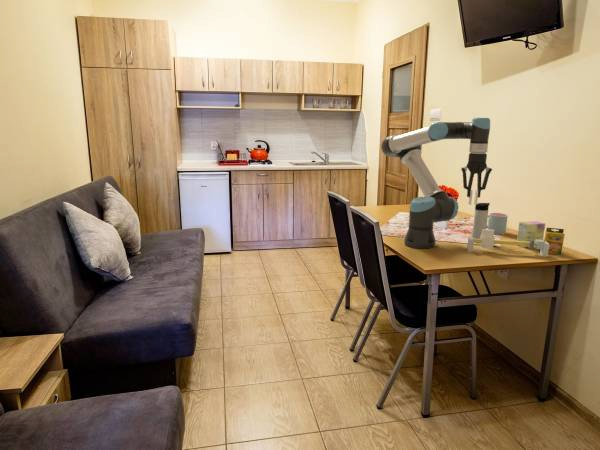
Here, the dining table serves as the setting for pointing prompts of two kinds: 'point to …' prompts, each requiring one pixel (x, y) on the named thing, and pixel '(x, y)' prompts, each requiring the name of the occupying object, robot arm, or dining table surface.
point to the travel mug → (480, 219)
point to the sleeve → (487, 238)
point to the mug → (497, 223)
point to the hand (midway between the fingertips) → (472, 204)
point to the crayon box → (554, 240)
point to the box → (530, 231)
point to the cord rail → (537, 244)
